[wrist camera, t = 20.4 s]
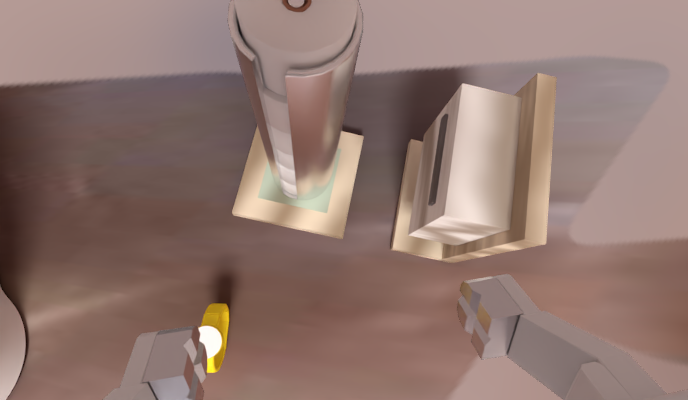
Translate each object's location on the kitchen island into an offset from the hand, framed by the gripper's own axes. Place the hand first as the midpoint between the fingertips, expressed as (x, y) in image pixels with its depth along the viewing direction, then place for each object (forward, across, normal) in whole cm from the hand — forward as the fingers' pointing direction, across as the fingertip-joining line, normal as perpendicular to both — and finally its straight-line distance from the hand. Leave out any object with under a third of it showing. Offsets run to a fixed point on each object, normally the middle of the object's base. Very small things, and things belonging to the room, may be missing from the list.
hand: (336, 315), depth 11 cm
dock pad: (+30, 0, +11) cm, 32 cm away
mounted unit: (+26, -14, +14) cm, 33 cm away
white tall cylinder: (+29, 0, +10) cm, 31 cm away
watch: (+19, +10, +22) cm, 31 cm away
